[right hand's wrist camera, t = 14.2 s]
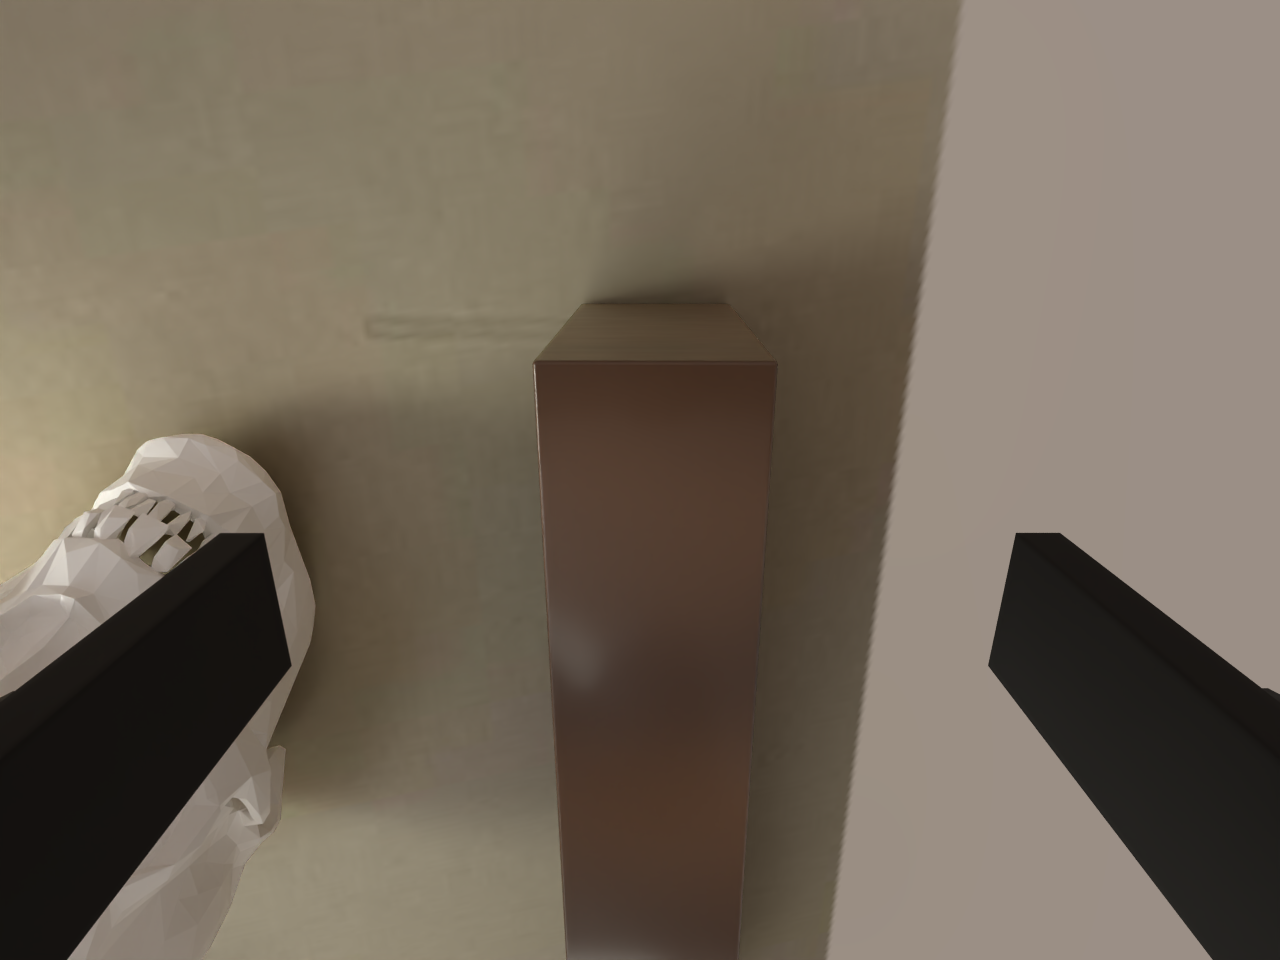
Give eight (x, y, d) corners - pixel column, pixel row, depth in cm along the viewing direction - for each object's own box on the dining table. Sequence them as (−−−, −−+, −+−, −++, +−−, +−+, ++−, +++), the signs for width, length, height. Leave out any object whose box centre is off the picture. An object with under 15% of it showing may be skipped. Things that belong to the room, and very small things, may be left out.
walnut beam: (702, 995, 36) (718, 1274, 26) (602, 993, 36) (583, 1270, 26) (730, 303, 24) (778, 361, 14) (581, 303, 24) (531, 361, 14)
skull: (409, 481, 26) (42, 828, 11) (286, 886, 33) (-36, 1424, 18) (49, 342, 25) (-899, 515, 10) (3, 791, 32) (-582, 1280, 17)
